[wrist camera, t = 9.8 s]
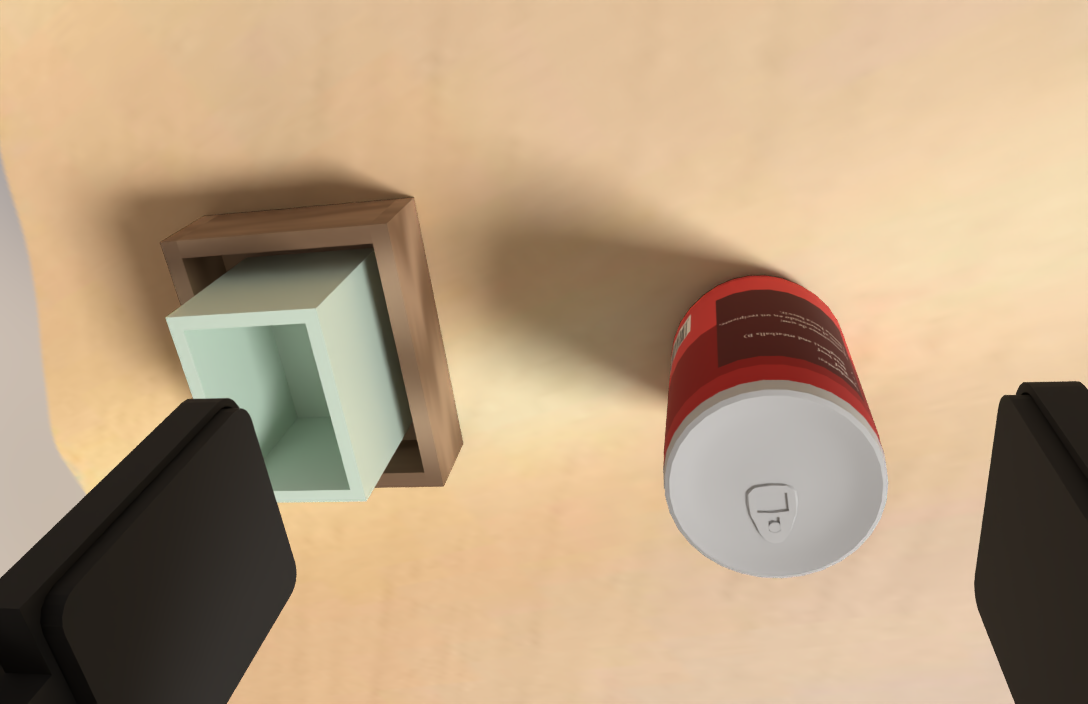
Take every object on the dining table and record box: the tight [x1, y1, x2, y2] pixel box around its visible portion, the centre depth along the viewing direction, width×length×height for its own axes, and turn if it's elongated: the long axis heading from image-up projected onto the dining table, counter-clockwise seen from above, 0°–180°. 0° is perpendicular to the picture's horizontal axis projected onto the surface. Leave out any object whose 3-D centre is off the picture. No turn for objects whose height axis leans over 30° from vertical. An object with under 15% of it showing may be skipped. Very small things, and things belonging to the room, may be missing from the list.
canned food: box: [663, 275, 888, 578], centre depth 35 cm, size 8×8×11 cm
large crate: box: [160, 197, 463, 488], centre depth 41 cm, size 13×10×4 cm
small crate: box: [165, 248, 413, 502], centre depth 39 cm, size 9×6×7 cm
